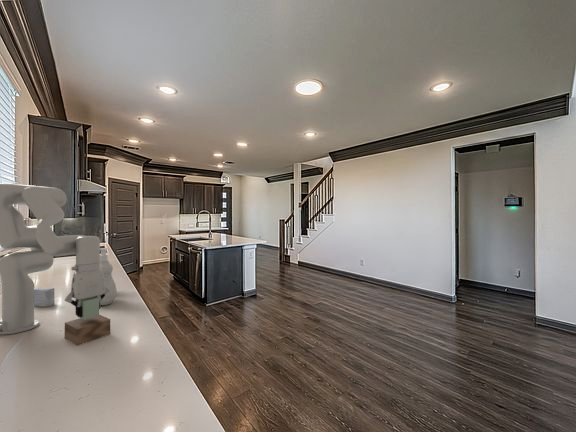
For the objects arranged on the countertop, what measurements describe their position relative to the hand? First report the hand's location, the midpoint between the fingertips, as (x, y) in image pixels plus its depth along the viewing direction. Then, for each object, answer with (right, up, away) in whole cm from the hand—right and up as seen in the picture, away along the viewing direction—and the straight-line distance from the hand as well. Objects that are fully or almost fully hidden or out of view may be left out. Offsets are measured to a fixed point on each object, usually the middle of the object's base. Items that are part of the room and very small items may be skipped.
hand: (88, 313), depth 105 cm
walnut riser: (0, -9, 0) cm, 9 cm away
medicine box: (-49, -9, +34) cm, 60 cm away
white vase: (-20, -9, +38) cm, 44 cm away
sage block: (0, -1, 0) cm, 1 cm away
